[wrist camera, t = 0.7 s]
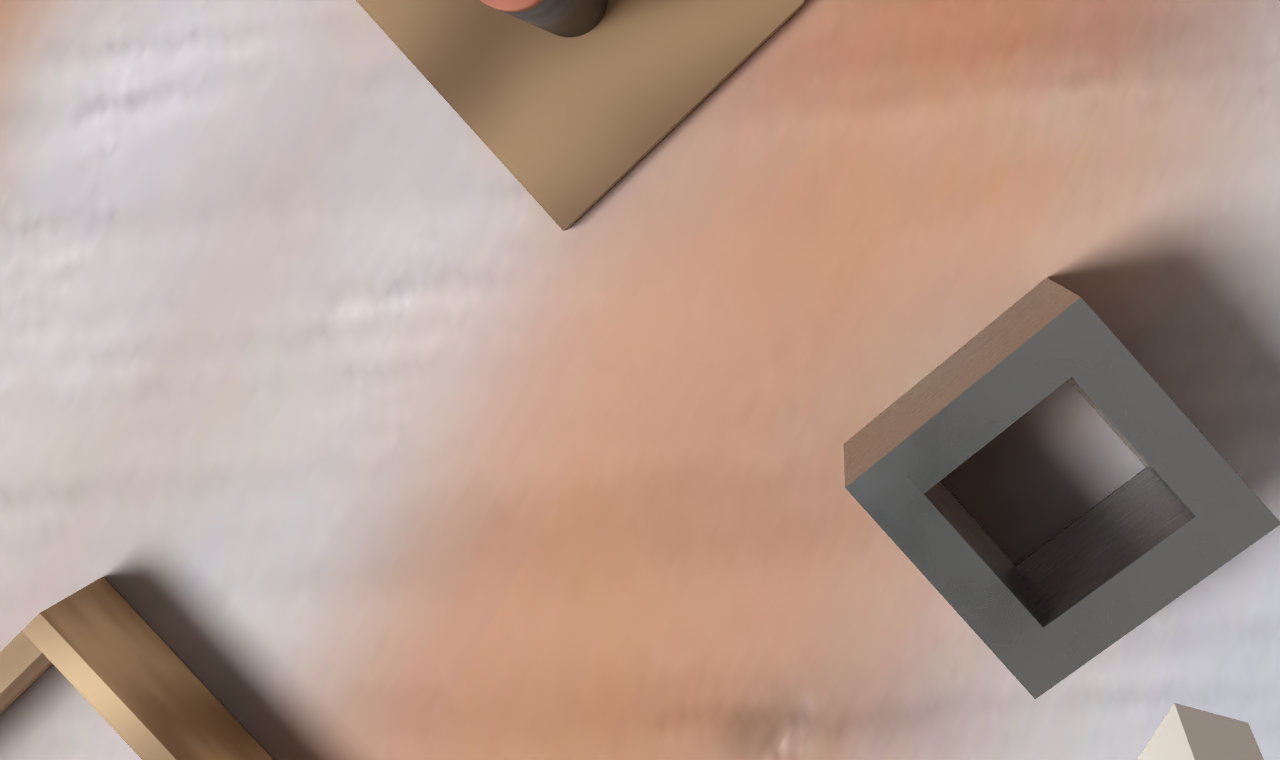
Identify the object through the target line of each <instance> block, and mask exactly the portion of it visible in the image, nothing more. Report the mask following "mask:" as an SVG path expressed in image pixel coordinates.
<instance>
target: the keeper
mask: <svg viewBox="0 0 1280 760" xmlns="http://www.w3.org/2000/svg"><path fill="white" fill-rule="evenodd" d="M356 1H357V2H358V3H359V4H360V5H361V6H362V8H363V9H364V10H365V11H366V12H367V13H368V14H369V15H370V16H371V18H372V19H373V20H374V21H375V22H376V23H377V24H378V25H379V26H380V28H381V29H382V30H383V31H384V32H385V33H386V34H387V35H388V36H389V38H390V39H391V40H392V41H393V42H394V43H395V44H396V45H397V46H398V48H399V49H400V50H401V51H402V52H403V53H404V54H405V55H406V56H407V58H408V59H409V60H410V61H411V62H412V63H413V64H414V65H415V66H416V68H417V69H418V70H419V71H420V72H421V73H422V74H423V75H424V76H425V78H426V79H427V80H428V81H429V82H430V83H431V84H432V85H433V86H434V88H435V89H436V90H437V91H438V92H439V93H440V94H441V95H442V96H443V98H444V99H445V100H446V101H447V102H448V103H449V104H450V105H451V106H452V108H453V109H454V110H455V111H456V112H457V113H458V114H459V115H460V116H461V118H462V119H463V120H464V121H465V122H466V123H467V124H468V125H469V126H470V128H471V129H472V130H473V131H474V132H475V133H476V134H477V135H478V136H479V138H480V139H481V140H482V141H483V142H484V143H485V144H486V145H487V146H488V148H489V149H490V150H491V151H492V152H493V153H494V154H495V155H496V156H497V158H498V159H499V160H500V161H501V162H502V163H503V164H504V165H505V166H506V168H507V169H508V170H509V171H510V172H511V173H512V174H513V175H514V176H515V178H516V179H517V180H518V181H519V182H520V183H521V184H522V185H523V186H524V188H525V189H526V190H527V191H528V192H529V193H530V194H531V195H532V196H533V197H534V199H535V200H536V201H537V202H538V203H539V204H540V205H541V206H542V207H543V209H544V210H545V211H546V212H547V213H548V214H549V215H550V216H551V217H552V219H553V220H554V221H555V222H556V223H557V224H558V225H559V226H560V227H561V229H562V230H563V231H564V230H568V229H569V228H570V227H571V226H572V225H573V224H574V223H575V222H576V221H577V220H578V219H579V218H580V217H581V216H582V215H584V214H585V213H586V212H587V211H588V210H589V209H590V208H591V207H592V206H593V205H594V204H595V203H596V202H597V201H598V200H599V199H600V198H601V197H602V196H603V195H605V194H606V193H607V192H608V191H609V190H610V189H611V188H612V187H613V186H614V185H615V184H616V183H617V182H618V181H619V180H620V179H621V178H622V177H623V176H625V175H626V174H627V173H628V172H629V171H630V170H631V169H632V168H633V167H634V166H635V165H636V164H637V163H638V162H639V161H640V160H641V159H642V158H643V157H644V156H646V155H647V154H648V153H649V152H650V151H651V150H652V149H653V148H654V147H655V146H656V145H657V144H658V143H659V142H660V141H661V140H662V139H663V138H664V137H665V136H667V135H668V134H669V133H670V132H671V131H672V130H673V129H674V128H675V127H676V126H677V125H678V124H679V123H680V122H681V121H682V120H683V119H684V118H685V117H687V116H688V115H689V114H690V113H691V112H692V111H693V110H694V109H695V108H696V107H697V106H698V105H699V104H700V103H701V102H702V101H703V100H704V99H705V98H706V97H708V96H709V95H710V94H711V93H712V92H713V91H714V90H715V89H716V88H717V87H718V86H719V85H720V84H721V83H722V82H723V81H724V80H725V79H726V78H727V77H729V76H730V75H731V74H732V73H733V72H734V71H735V70H736V69H737V68H738V67H739V66H740V65H741V64H742V63H743V62H744V61H745V60H746V59H747V58H749V57H750V56H751V55H752V54H753V53H754V52H755V51H756V50H757V49H758V48H759V47H760V46H761V45H762V44H763V43H764V42H765V41H766V40H767V39H768V38H770V37H771V36H772V35H773V34H774V33H775V32H776V31H777V30H778V29H779V28H780V27H781V26H782V25H783V24H784V23H785V22H786V21H787V20H788V19H789V18H791V17H792V16H793V15H794V14H795V13H796V12H797V11H798V10H799V9H800V8H801V7H802V6H803V5H804V4H805V2H804V0H356Z"/></svg>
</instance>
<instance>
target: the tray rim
mask: <svg viewBox="0 0 1280 760" xmlns="http://www.w3.org/2000/svg"><path fill="white" fill-rule="evenodd" d="M52 664H53V665H54V666H55V667H56V668H57V669H58V670H59V671H60V672H61V673H62V674H63V675H64V676H65V677H66V678H67V680H68V681H69V682H70V683H71V684H72V685H73V686H74V687H75V688H76V689H77V690H78V691H79V692H80V693H81V695H82V696H83V697H84V698H85V699H86V700H87V701H88V702H89V703H90V704H91V705H92V706H93V707H94V708H95V710H96V711H97V712H98V713H99V714H100V715H101V716H102V717H103V718H104V719H105V720H106V721H107V722H108V723H109V725H110V726H111V727H112V728H113V729H114V730H115V731H116V732H117V733H118V734H119V735H120V736H121V737H122V738H123V740H124V741H125V742H126V743H127V744H128V745H129V746H130V747H131V748H132V749H133V750H134V751H135V752H136V753H137V754H138V756H139V757H140V758H141V759H142V760H273V759H272V758H271V757H270V756H269V755H268V754H267V752H266V751H265V750H264V749H263V748H262V747H261V746H260V745H259V744H258V743H257V742H256V741H255V740H254V738H253V737H252V736H251V735H250V734H249V733H248V732H247V731H246V730H245V729H244V728H243V727H242V726H241V724H240V723H239V722H238V721H237V720H236V719H235V718H234V717H233V716H232V715H231V714H230V713H229V712H228V710H227V709H226V708H225V707H224V706H223V705H222V704H221V703H220V702H219V701H218V700H217V699H216V698H215V696H214V695H213V694H212V693H211V692H210V691H209V690H208V689H207V688H206V687H205V686H204V685H203V684H202V683H201V681H200V680H199V679H198V678H197V677H196V676H195V675H194V674H193V673H192V672H191V671H190V670H189V669H188V667H187V666H186V665H185V664H184V663H183V662H182V661H181V660H180V659H179V658H178V657H177V656H176V655H175V653H174V652H173V651H172V650H171V649H170V648H169V647H168V646H167V645H166V644H165V643H164V642H163V641H162V639H161V638H160V637H159V636H158V635H157V634H156V633H155V632H154V631H153V630H152V629H151V628H150V627H149V625H148V624H147V623H146V622H145V621H144V620H143V619H142V618H141V617H140V616H139V615H138V614H137V613H136V611H135V610H134V609H133V608H132V607H131V606H130V605H129V604H128V603H127V602H126V601H125V600H124V599H123V597H122V596H121V595H120V594H119V593H118V592H117V591H116V590H115V589H114V588H113V587H112V586H111V585H110V584H109V582H108V581H107V580H106V579H105V578H104V577H102V578H100V579H98V580H97V581H95V582H93V583H91V584H90V585H88V586H86V587H84V588H83V589H81V590H79V591H77V592H76V593H74V594H72V595H71V596H69V597H67V598H65V599H64V600H62V601H60V602H58V603H57V604H55V605H53V606H51V607H50V608H48V609H46V610H45V611H43V612H41V613H39V614H38V615H37V616H36V617H35V618H34V619H33V620H32V621H31V622H30V623H29V624H28V625H27V626H26V627H25V628H24V629H23V630H22V631H21V632H20V633H19V634H18V635H17V636H16V637H15V638H14V639H13V640H12V641H11V642H10V643H9V644H8V645H7V646H6V647H5V648H4V649H3V650H2V651H1V652H0V715H1V714H2V713H3V712H4V711H5V710H6V709H7V708H8V707H9V706H10V705H11V704H12V703H13V702H14V701H15V700H16V699H17V698H18V697H19V696H20V695H21V694H22V693H23V692H24V691H25V690H26V689H28V688H29V687H30V686H31V685H32V684H33V683H34V682H35V681H36V680H37V679H38V678H39V677H40V676H41V675H42V674H43V673H44V672H45V671H46V670H47V669H48V668H49V667H50V666H51V665H52Z"/></svg>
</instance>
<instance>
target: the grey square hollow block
mask: <svg viewBox="0 0 1280 760" xmlns="http://www.w3.org/2000/svg"><path fill="white" fill-rule="evenodd" d="M1067 380H1069V381H1070V382H1071V383H1072V384H1073V385H1074V386H1075V387H1076V389H1077V390H1078V391H1079V392H1080V393H1081V394H1082V395H1083V396H1084V398H1085V399H1086V400H1087V401H1088V402H1089V403H1090V404H1091V405H1092V407H1093V408H1094V409H1095V410H1096V411H1097V412H1098V413H1099V414H1100V416H1101V417H1102V418H1103V419H1104V420H1105V421H1106V422H1107V424H1108V425H1109V426H1110V427H1111V428H1112V429H1113V430H1114V431H1115V433H1116V434H1117V435H1118V436H1119V437H1120V438H1121V439H1122V440H1123V442H1124V443H1125V444H1126V445H1127V446H1128V447H1129V448H1130V449H1131V451H1132V452H1133V453H1134V454H1135V455H1136V456H1137V457H1138V458H1139V460H1140V461H1141V462H1142V463H1143V464H1144V465H1145V466H1146V467H1147V468H1145V469H1144V470H1143V471H1141V472H1140V473H1139V474H1137V475H1136V476H1135V477H1133V478H1132V479H1131V480H1130V481H1128V482H1127V483H1126V484H1124V485H1123V486H1122V487H1120V488H1119V489H1118V490H1116V491H1115V492H1114V493H1112V494H1111V495H1110V496H1108V497H1107V498H1106V499H1104V500H1103V501H1102V502H1100V503H1099V504H1098V505H1096V506H1095V507H1094V508H1092V509H1091V510H1090V511H1088V512H1087V513H1086V514H1084V515H1083V516H1082V517H1080V518H1079V519H1078V520H1076V521H1075V522H1074V523H1072V524H1071V525H1070V526H1068V527H1067V528H1066V529H1064V530H1063V531H1062V532H1060V533H1059V534H1058V535H1056V536H1055V537H1054V538H1052V539H1051V540H1050V541H1048V542H1047V543H1046V544H1044V545H1043V546H1042V547H1040V548H1039V549H1038V550H1036V551H1035V552H1034V553H1032V554H1031V555H1030V556H1028V557H1027V558H1026V559H1025V560H1023V561H1022V562H1021V563H1019V564H1018V565H1017V566H1015V565H1014V563H1013V562H1012V561H1011V560H1010V559H1009V558H1008V557H1007V556H1006V555H1005V553H1004V552H1003V551H1002V550H1001V549H1000V548H999V547H998V546H997V544H996V543H995V542H994V541H993V540H992V539H991V538H990V537H989V536H988V534H987V533H986V532H985V531H984V530H983V529H982V528H981V527H980V525H979V524H978V523H977V522H976V521H975V520H974V519H973V518H972V517H971V515H970V514H969V513H968V512H967V511H966V510H965V509H964V508H963V506H962V505H961V504H960V503H959V502H958V501H957V500H956V499H955V498H954V496H953V495H952V494H951V493H950V492H949V491H948V490H947V489H946V487H945V486H944V485H943V484H942V483H941V482H940V481H941V480H942V479H943V478H945V477H946V476H947V475H948V474H950V473H951V472H952V471H953V470H955V469H956V468H957V467H959V466H960V465H961V464H962V463H964V462H965V461H966V460H967V459H969V458H970V457H971V456H972V455H974V454H975V453H976V452H977V451H979V450H980V449H981V448H983V447H984V446H985V445H986V444H988V443H989V442H990V441H991V440H993V439H994V438H995V437H996V436H998V435H999V434H1000V433H1002V432H1003V431H1004V430H1005V429H1007V428H1008V427H1009V426H1010V425H1012V424H1013V423H1014V422H1015V421H1017V420H1018V419H1019V418H1021V417H1022V416H1023V415H1024V414H1026V413H1027V412H1028V411H1029V410H1031V409H1032V408H1033V407H1034V406H1036V405H1037V404H1038V403H1040V402H1041V401H1042V400H1043V399H1045V398H1046V397H1047V396H1048V395H1050V394H1051V393H1052V392H1053V391H1055V390H1056V389H1057V388H1058V387H1060V386H1061V385H1062V384H1064V383H1065V382H1066V381H1067ZM844 465H845V488H846V489H847V490H848V491H849V492H850V493H851V495H852V496H853V497H854V498H855V499H856V500H857V501H858V502H859V503H860V505H861V506H862V507H863V508H864V509H865V510H866V511H867V512H868V513H869V515H870V516H871V517H872V518H873V519H874V520H875V521H876V522H877V524H878V525H879V526H880V527H881V528H882V529H883V530H884V531H885V532H886V534H887V535H888V536H889V537H890V538H891V539H892V540H893V541H894V542H895V544H896V545H897V546H898V547H899V548H900V549H901V550H902V551H903V552H904V554H905V555H906V556H907V557H908V558H909V559H910V560H911V561H912V562H913V564H914V565H915V566H916V567H917V568H918V569H919V570H920V571H921V572H922V574H923V575H924V576H925V577H926V578H927V579H928V580H929V581H930V582H931V584H932V585H933V586H934V587H935V588H936V589H937V590H938V591H939V593H940V594H941V595H942V596H943V597H944V598H945V599H946V600H947V601H948V603H949V604H950V605H951V606H952V607H953V608H954V609H955V610H956V611H957V613H958V614H959V615H960V616H961V617H962V618H963V619H964V620H965V621H966V623H967V624H968V625H969V626H970V627H971V628H972V629H973V630H974V631H975V633H976V634H977V635H978V636H979V637H980V638H981V639H982V640H983V641H984V643H985V644H986V645H987V646H988V647H989V648H990V649H991V650H992V651H993V653H994V654H995V655H996V656H997V657H998V658H999V659H1000V660H1001V662H1002V663H1003V664H1004V665H1005V666H1006V667H1007V668H1008V669H1009V670H1010V672H1011V673H1012V674H1013V675H1014V676H1015V677H1016V678H1017V679H1018V680H1019V682H1020V683H1021V684H1022V685H1023V686H1024V687H1025V688H1026V689H1027V690H1028V692H1029V693H1030V694H1031V695H1032V696H1033V697H1034V698H1035V699H1036V698H1038V697H1039V696H1040V695H1042V694H1043V693H1045V692H1046V691H1047V690H1049V689H1050V688H1052V687H1053V686H1054V685H1056V684H1057V683H1059V682H1060V681H1061V680H1063V679H1064V678H1066V677H1067V676H1068V675H1070V674H1071V673H1073V672H1074V671H1075V670H1077V669H1078V668H1080V667H1081V666H1082V665H1084V664H1085V663H1087V662H1088V661H1089V660H1091V659H1092V658H1094V657H1095V656H1096V655H1098V654H1099V653H1101V652H1102V651H1103V650H1105V649H1106V648H1108V647H1109V646H1110V645H1112V644H1113V643H1115V642H1116V641H1117V640H1119V639H1120V638H1122V637H1123V636H1124V635H1126V634H1127V633H1129V632H1130V631H1131V630H1133V629H1134V628H1136V627H1137V626H1138V625H1140V624H1141V623H1143V622H1144V621H1145V620H1147V619H1148V618H1150V617H1151V616H1152V615H1154V614H1155V613H1157V612H1158V611H1159V610H1161V609H1162V608H1164V607H1165V606H1166V605H1168V604H1169V603H1171V602H1172V601H1173V600H1175V599H1176V598H1178V597H1179V596H1180V595H1182V594H1183V593H1185V592H1186V591H1187V590H1189V589H1190V588H1192V587H1193V586H1194V585H1196V584H1197V583H1199V582H1200V581H1201V580H1203V579H1204V578H1206V577H1207V576H1208V575H1210V574H1211V573H1213V572H1214V571H1215V570H1217V569H1218V568H1220V567H1221V566H1222V565H1224V564H1225V563H1227V562H1228V561H1229V560H1231V559H1232V558H1234V557H1235V556H1236V555H1238V554H1239V553H1241V552H1242V551H1243V550H1245V549H1246V548H1248V547H1249V546H1250V545H1252V544H1253V543H1255V542H1256V541H1257V540H1259V539H1260V538H1262V537H1263V536H1264V535H1266V534H1267V533H1269V532H1270V531H1271V530H1273V529H1274V528H1276V527H1277V526H1278V525H1280V522H1279V521H1278V519H1277V518H1276V517H1275V516H1274V515H1273V514H1272V513H1271V511H1270V510H1269V509H1268V508H1267V507H1266V506H1265V505H1264V504H1263V502H1262V501H1261V500H1260V499H1259V498H1258V497H1257V496H1256V494H1255V493H1254V492H1253V491H1252V490H1251V489H1250V488H1249V487H1248V485H1247V484H1246V483H1245V482H1244V481H1243V480H1242V479H1241V477H1240V476H1239V475H1238V474H1237V473H1236V472H1235V471H1234V470H1233V468H1232V467H1231V466H1230V465H1229V464H1228V463H1227V462H1226V461H1225V459H1224V458H1223V457H1222V456H1221V455H1220V454H1219V453H1218V451H1217V450H1216V449H1215V448H1214V447H1213V446H1212V445H1211V444H1210V442H1209V441H1208V440H1207V439H1206V438H1205V437H1204V436H1203V434H1202V433H1201V432H1200V431H1199V430H1198V429H1197V428H1196V427H1195V425H1194V424H1193V423H1192V422H1191V421H1190V420H1189V419H1188V418H1187V416H1186V415H1185V414H1184V413H1183V412H1182V411H1181V410H1180V408H1179V407H1178V406H1177V405H1176V404H1175V403H1174V402H1173V401H1172V399H1171V398H1170V397H1169V396H1168V395H1167V394H1166V393H1165V391H1164V390H1163V389H1162V388H1161V387H1160V386H1159V385H1158V384H1157V382H1156V381H1155V380H1154V379H1153V378H1152V377H1151V376H1150V375H1149V373H1148V372H1147V371H1146V370H1145V369H1144V368H1143V367H1142V365H1141V364H1140V363H1139V362H1138V361H1137V360H1136V359H1135V358H1134V356H1133V355H1132V354H1131V353H1130V352H1129V351H1128V350H1127V348H1126V347H1125V346H1124V345H1123V344H1122V343H1121V342H1120V341H1119V339H1118V338H1117V337H1116V336H1115V335H1114V334H1113V333H1112V332H1111V330H1110V329H1109V328H1108V327H1107V326H1106V325H1105V324H1104V322H1103V321H1102V320H1101V319H1100V318H1099V317H1098V316H1097V315H1096V313H1095V312H1094V311H1093V310H1092V309H1091V308H1090V307H1089V305H1088V304H1087V303H1086V302H1085V301H1084V300H1083V299H1082V298H1081V297H1080V296H1078V295H1077V294H1075V293H1073V292H1071V291H1070V290H1068V289H1066V288H1064V287H1063V286H1061V285H1059V284H1057V283H1055V282H1054V281H1052V280H1050V279H1048V278H1046V279H1045V280H1043V281H1042V282H1041V283H1040V284H1038V285H1037V286H1036V287H1035V288H1034V289H1032V290H1031V291H1030V292H1029V293H1028V294H1026V295H1025V296H1024V297H1023V298H1021V299H1020V300H1019V301H1018V302H1017V303H1015V304H1014V305H1013V306H1012V307H1010V308H1009V309H1008V310H1007V311H1006V312H1004V313H1003V314H1002V315H1001V316H1000V317H998V318H997V319H996V320H995V321H993V322H992V323H991V324H990V325H989V326H987V327H986V328H985V329H984V330H982V331H981V332H980V333H979V334H978V335H976V336H975V337H974V338H973V339H971V340H970V341H969V342H968V343H967V344H965V345H964V346H963V347H962V348H961V349H959V350H958V351H957V352H956V353H954V354H953V355H952V356H951V357H950V358H948V359H947V360H946V361H945V362H943V363H942V364H941V365H940V366H939V367H937V368H936V369H935V370H934V371H933V372H931V373H930V374H929V375H928V376H926V377H925V378H924V379H923V380H922V381H920V382H919V383H918V384H917V385H915V386H914V387H913V388H912V389H911V390H909V391H908V392H907V393H906V394H904V395H903V396H902V397H901V398H900V399H898V400H897V401H896V402H895V403H894V404H892V405H891V406H890V407H889V408H887V409H886V410H885V411H884V412H883V413H881V414H880V415H879V416H878V417H876V418H875V419H874V420H873V421H872V422H870V423H869V424H868V425H867V426H866V427H864V428H863V429H862V430H861V431H859V432H858V433H857V434H856V435H855V436H853V437H852V438H851V439H850V440H848V441H847V442H846V443H845V444H844Z"/></svg>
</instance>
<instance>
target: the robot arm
mask: <svg viewBox="0 0 1280 760" xmlns="http://www.w3.org/2000/svg"><path fill="white" fill-rule="evenodd" d="M1138 760H1264V759H1263V757H1262V755H1261V752H1260V750H1259V748H1258V745H1257V743H1256V740H1255V738H1254V736H1253V733H1252V731H1251V729H1250V726H1249V724H1248V723H1247V722H1243V721H1239V720H1235V719H1232V718H1228V717H1224V716H1221V715H1217V714H1213V713H1209V712H1206V711H1202V710H1198V709H1195V708H1191V707H1187V706H1183V705H1180V704H1176V703H1174V704H1173V706H1172V707H1171V709H1170V711H1169V712H1168V714H1167V715H1166V717H1165V718H1164V720H1163V721H1162V723H1161V724H1160V726H1159V727H1158V729H1157V730H1156V732H1155V734H1154V735H1153V737H1152V738H1151V740H1150V741H1149V743H1148V744H1147V746H1146V747H1145V749H1144V750H1143V752H1142V753H1141V755H1140V756H1139V758H1138Z"/></svg>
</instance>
